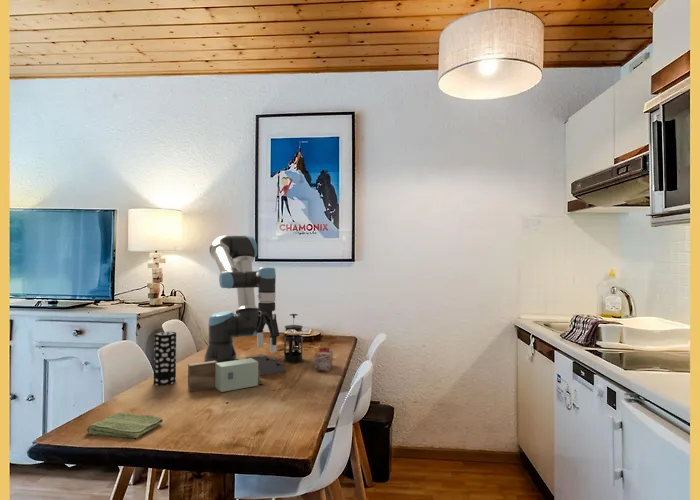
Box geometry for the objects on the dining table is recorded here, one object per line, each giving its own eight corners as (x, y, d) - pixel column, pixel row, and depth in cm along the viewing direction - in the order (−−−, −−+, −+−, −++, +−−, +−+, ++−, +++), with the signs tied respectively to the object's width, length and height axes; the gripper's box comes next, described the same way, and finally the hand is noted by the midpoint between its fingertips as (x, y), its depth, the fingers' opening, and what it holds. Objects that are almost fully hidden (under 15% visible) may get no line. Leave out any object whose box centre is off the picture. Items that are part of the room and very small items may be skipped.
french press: (299, 363, 216) (299, 315, 216) (280, 362, 217) (281, 315, 218) (306, 357, 227) (306, 312, 227) (288, 356, 229) (288, 312, 229)
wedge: (250, 373, 198) (251, 355, 198) (279, 368, 206) (279, 351, 206) (255, 376, 194) (255, 357, 194) (284, 371, 202) (284, 353, 202)
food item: (331, 372, 200) (331, 350, 200) (313, 372, 200) (313, 350, 200) (333, 365, 214) (333, 344, 214) (316, 364, 214) (316, 344, 214)
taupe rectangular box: (187, 390, 173) (188, 364, 173) (256, 378, 189) (256, 354, 189) (190, 392, 170) (190, 365, 170) (259, 380, 187) (259, 356, 187)
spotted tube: (180, 381, 184) (180, 332, 184) (164, 386, 177) (164, 336, 177) (165, 378, 188) (166, 331, 188) (148, 383, 180) (149, 334, 180)
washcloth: (138, 441, 127) (138, 430, 127) (83, 436, 130) (83, 425, 130) (165, 424, 140) (165, 414, 140) (115, 420, 143) (115, 409, 143)
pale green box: (215, 387, 176) (215, 363, 176) (250, 381, 184) (251, 358, 184) (221, 392, 169) (222, 367, 169) (258, 386, 178) (259, 362, 178)
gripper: (247, 300, 208) (247, 346, 207) (271, 304, 187) (271, 355, 187) (262, 299, 212) (262, 344, 212) (287, 303, 192) (287, 353, 191)
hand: (266, 349), depth 199 cm, fingers open, 13 cm apart
